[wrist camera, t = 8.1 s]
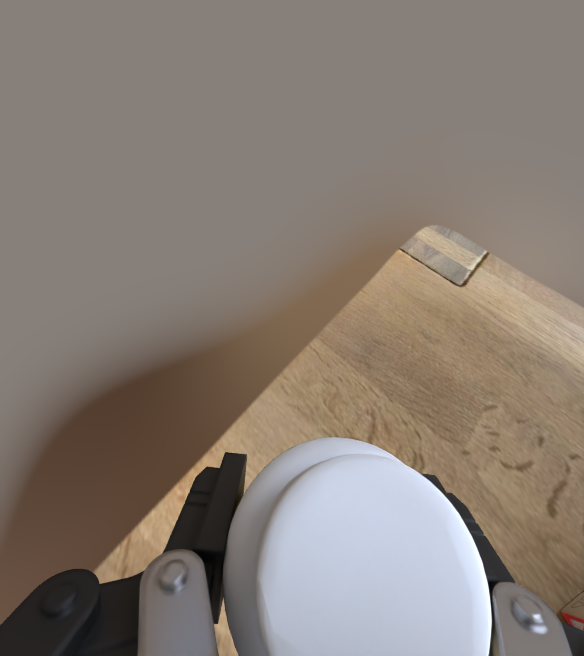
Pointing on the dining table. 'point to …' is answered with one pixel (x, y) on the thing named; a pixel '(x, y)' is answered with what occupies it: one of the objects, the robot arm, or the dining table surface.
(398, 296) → the dining table surface
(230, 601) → the supplement bottle
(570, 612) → the stack of blocks
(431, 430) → the dining table surface
